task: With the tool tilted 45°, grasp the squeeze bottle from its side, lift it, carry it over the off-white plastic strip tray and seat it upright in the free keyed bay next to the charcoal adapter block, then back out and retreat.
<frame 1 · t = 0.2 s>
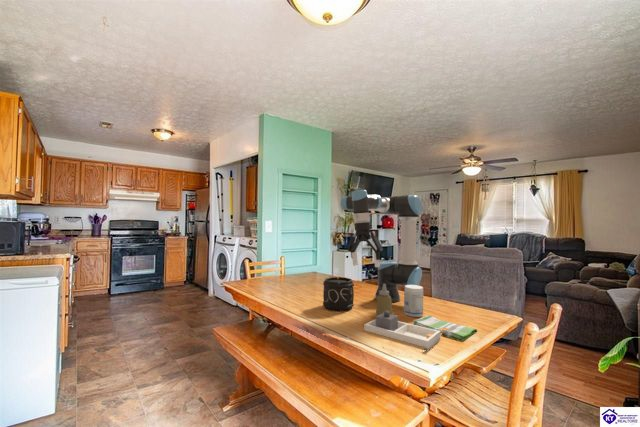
hand: (366, 266, 144), 27 cm above the table, tool pointing down, fingers open, 13 cm apart
adapter block: (386, 329, 132), point 1 cm above the table, touching strip tray
strip tray: (401, 335, 127), on the table
supplement tub: (413, 315, 157), on the table
squeeze bottle: (384, 321, 147), on the table
black marked cylinder: (338, 308, 169), on the table
dish towel: (444, 330, 136), on the table
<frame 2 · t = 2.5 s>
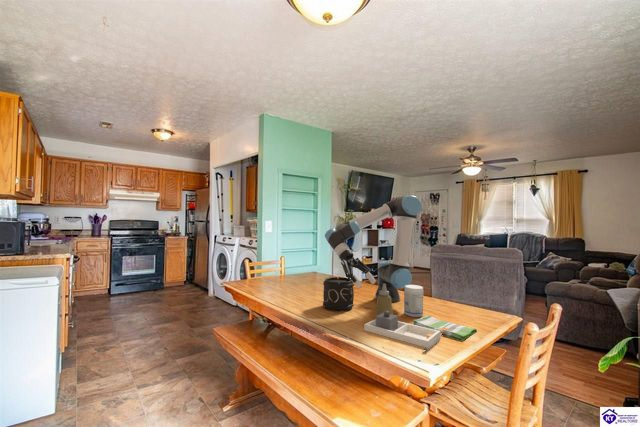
hand: (367, 285, 153), 16 cm above the table, tool tilted 45°, fingers open, 13 cm apart
nothing on the table moved.
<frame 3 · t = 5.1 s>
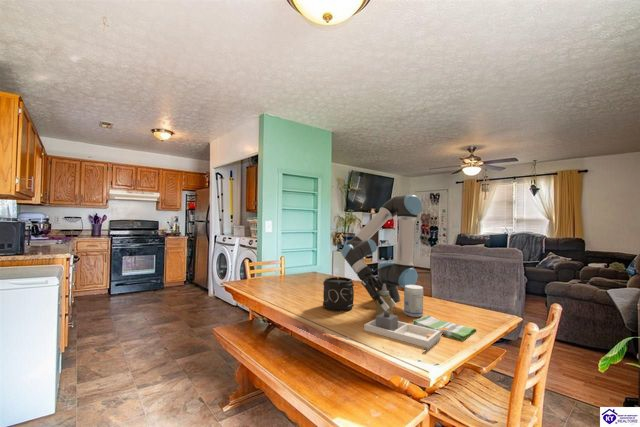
hand: (390, 307, 145), 7 cm above the table, tool tilted 45°, fingers closed on squeeze bottle, 6 cm apart
squeeze bottle: (384, 321, 147), on the table, touching gripper
everything else where it was.
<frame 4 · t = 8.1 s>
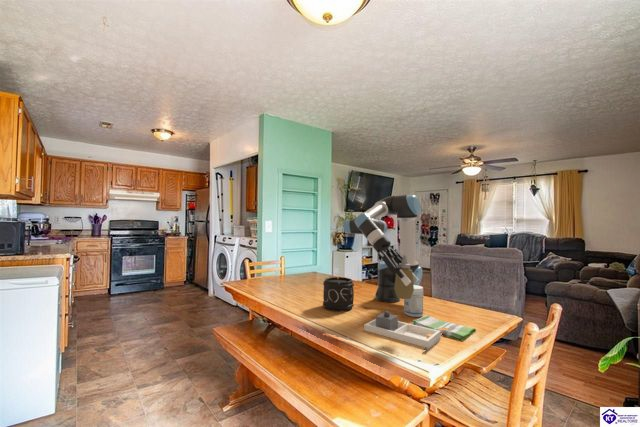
hand: (412, 282, 125), 23 cm above the table, tool tilted 45°, fingers closed on squeeze bottle, 6 cm apart
squeeze bottle: (403, 298, 127), point 16 cm above the table, touching gripper
everything else where it was.
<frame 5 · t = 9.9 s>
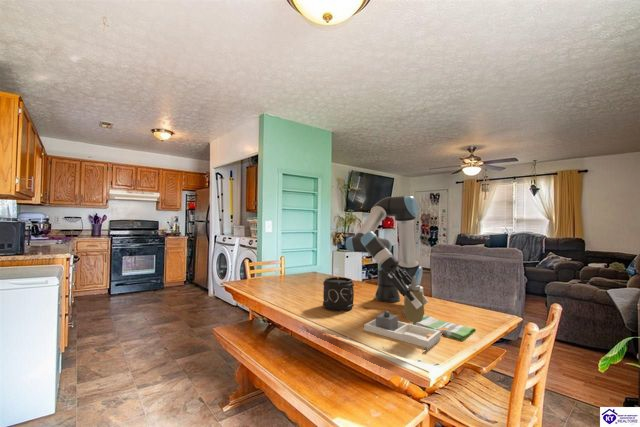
hand: (422, 305, 121), 15 cm above the table, tool tilted 45°, fingers closed on squeeze bottle, 6 cm apart
squeeze bottle: (414, 320, 123), point 8 cm above the table, touching gripper
everything else where it was.
when the fingers open (9 cm above the table, at t = 11.3 s): squeeze bottle drops 1 cm, resting on strip tray.
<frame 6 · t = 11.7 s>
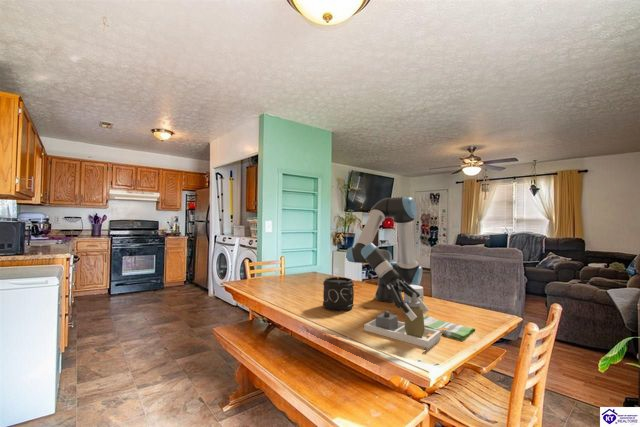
hand: (420, 315, 122), 10 cm above the table, tool tilted 45°, fingers open, 12 cm apart
squeeze bottle: (414, 337, 124), point 1 cm above the table, touching strip tray
everything else where it was.
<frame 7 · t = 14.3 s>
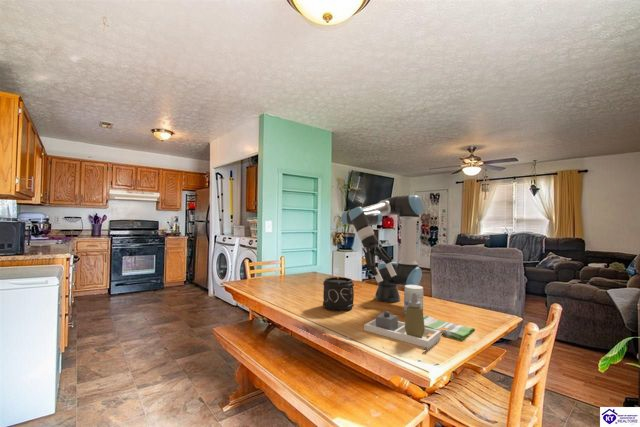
hand: (387, 278, 138), 22 cm above the table, tool tilted 30°, fingers open, 13 cm apart
nothing on the table moved.
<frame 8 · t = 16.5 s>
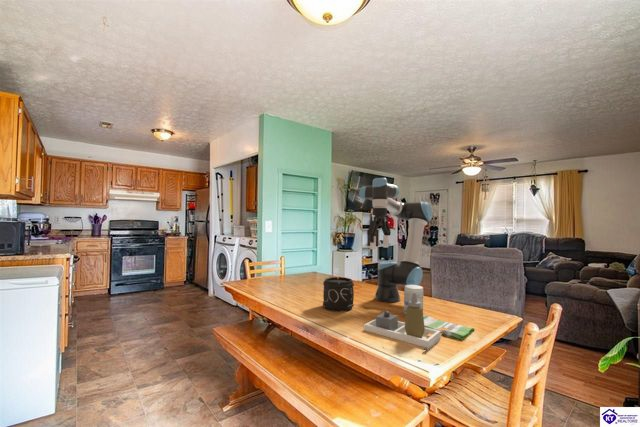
hand: (379, 248, 156), 35 cm above the table, tool pointing down, fingers open, 13 cm apart
nothing on the table moved.
at the end: squeeze bottle inside the target area on the strip tray (0.2 cm from its centre), point 0.8 cm above the strip tray's base; squeeze bottle tilted 0°; adapter block moved 0.0 cm from its start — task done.
